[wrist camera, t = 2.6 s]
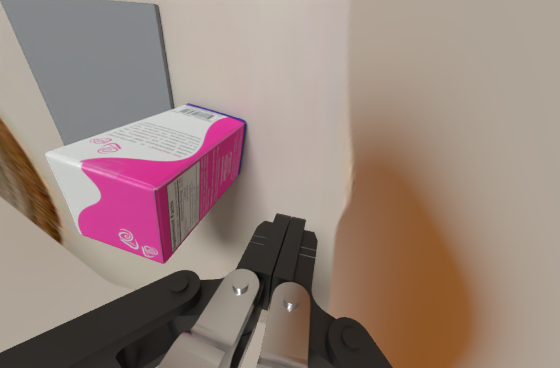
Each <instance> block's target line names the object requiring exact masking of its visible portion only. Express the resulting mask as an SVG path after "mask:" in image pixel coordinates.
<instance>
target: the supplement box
mask: <svg viewBox="0 0 560 368" xmlns="http://www.w3.org/2000/svg"><path fill="white" fill-rule="evenodd" d="M245 127H246V121H245V120H242V119H239V118H236V117H232V116H229V115H226V114H223V113H219V112H216V111H213V110H209V109H206V108H202V107H199V106H195V105H192V104H189V103H188V104H186V105H183V106H180V107H178V108H175V109H172V110H169V111H166V112H163V113H160V114H157V115H155V116H152V117H148V118H146V119H143V120H140V121H137V122H134V123H131V124H128V125H125V126H122V127H119V128H116V129H113V130H110V131H107V132H105V133H102V134H99V135H96V136H93V137H90V138H87V139H84V140H81V141H78V142H75V143H72V144H69V145H66V146H63V147H61V148H58V149H55V150H52V151H48V152H47V153H46V154H45V155H46V158H47V161H48V163H49V165H50V167H51V169H52V171H53V173H54V176H55V178H56V180H57V182H58V184H59V186H60V188H61V191H62V193H63V195H64V197H65V200H66V202H67V204H68V207H69V209H70V211H71V214H72V217H73V219H74V221H75V224H76V226H77V229H78V231H79V233H80V234H81V235H84V236H87V237H90V238H92V239H95V240H98V241H101V242H104V243H106V244H109V245H112V246H115V247H117V248H120V249H123V250H126V251H129V252H132V253H134V254H137V255H140V256H143V257H145V258H148V259H151V260H154V261H156V262H159V263H162V264H164V263H166V261H167V260H168V259H169V258H170V257H171V256H172V254H173V253H174V252H175V251H176V250H177V248H178V247H179V246H180V245H181V244H182V242H183V241H184V240H185V239H186V238H187V236H188V235H189V234H190V233H191V232H192V230H193V229H194V228H195V227H196V226H197V224H198V223H199V222H200V221H201V219H202V218H203V217H204V216H205V215H206V213H207V212H208V211H209V210H210V209H211V207H212V206H213V205H214V204H215V203H216V201H217V200H218V199H219V198H220V197H221V195H222V194H223V193H224V192H225V191H226V189H227V188H228V187H229V186H230V185H231V183H232V182H233V181H234V180H235V179H236V177H237V176H238V175H239V171H240V164H241V157H242V149H243V142H244V135H245Z"/></svg>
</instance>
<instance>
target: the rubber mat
mask: <svg viewBox="0 0 560 368" xmlns="http://www.w3.org/2000/svg"><path fill="white" fill-rule="evenodd" d="M0 1H1V3H2V5H3V8H4V10H5V12H6V15H7V17H8V19H9V21H10V24H11V26H12V28H13V30H14V33H15V35H16V37H17V39H18V42H19V44H20V46H21V48H22V51H23V53H24V55H25V57H26V60H27V62H28V64H29V66H30V69H31V71H32V73H33V75H34V78H35V80H36V82H37V84H38V87H39V89H40V91H41V93H42V96H43V98H44V100H45V102H46V105H47V107H48V109H49V111H50V114H51V116H52V118H53V120H54V123H55V125H56V127H57V129H58V132H59V134H60V136H61V139H62V141H63V143H64V145H65V146H66V145H69V144H72V143H75V142H78V141H81V140H84V139H87V138H90V137H93V136H96V135H99V134H102V133H105V132H107V131H110V130H113V129H116V128H119V127H122V126H125V125H128V124H131V123H134V122H137V121H140V120H143V119H146V118H148V117H152V116H155V115H157V114H160V113H163V112H166V111H169V110H172V109H174V106H173V100H172V93H171V87H170V80H169V74H168V67H167V61H166V55H165V48H164V42H163V35H162V29H161V22H160V16H159V9H158V5H156V4H149V3H136V2H123V1H111V0H0Z"/></svg>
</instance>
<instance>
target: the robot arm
mask: <svg viewBox="0 0 560 368" xmlns="http://www.w3.org/2000/svg"><path fill="white" fill-rule="evenodd" d="M305 222H306V220H305V219H301V218H296V217H292V218H291V216H287V215H283V214H278V213H277V214H276V216H275V219H274V221H273V223H272V222H268V221H264V222H263V223H261V224H260V225H259V226H257V228H256V230H255V232H254V235H253V236H252V238H251V240H250V242H249V244H248V246H247V248H246V250H245V252H244V254H243V256H242V258H241V260H240V262H239V264H238V266H237V268H236V269H235V270H234V271H232V272H230V273H229V274H228V275H226V277H224V278H221V279H214V280H200V279H199V276H198V275H197V274H196V273H195V272H193V271H189V270H181V271H177V272H175V273H172V274H170V275H168V276H166V277H164V278H162V279H159V280H157V281H155V282H153V283H151V284H149V285H146V286H144V287H142V288H140V289H138V290H136V291H134V292H131V293H129V294H127V295H125V296H123V297H120V298H118V299H116V300H114V301H112V302H110V303H107V304H105V305H103V306H101V307H99V308H97V309H94V310H92V311H90V312H88V313H86V314H83V315H81V316H79V317H77V318H75V319H73V320H70V321H68V322H66V323H64V324H62V325H60V326H57V327H55V328H53V329H51V330H49V331H47V332H44V333H42V334H40V335H38V336H36V337H34V338H31V339H29V340H27V341H25V342H23V343H20V344H18V345H16V346H14V347H12V348H10V349H7V350H5V351H3V352H1V353H0V368H155V367H157V366H158V365H159V366H158V367H157V368H240V367H241V364H242V362H243V359H244V356H245V354H246V352H247V349H248V346H249V344H250V342H251V339H252V337H253V334H254V332H255V329H256V325H257V322H258V320H259V316H260V313H261V310H262V309H264V310H268V307H269V314H268V319H267V324H266V328H265V333H264V338H263V343H262V347H261V352H260V356H259V359H258V362H257V366H256V368H392V366H391V365H390V363H389V362H388V360H387V359H386V357H385V356H384V355H383V353H382V352H381V350H380V349H379V347H378V346H377V345H376V343H375V342H374V340H373V339H372V338H371V336H370V335H369V333H368V332H367V330H366V329H365V328H364V327H363V326H362V325H361V324H360V323H359V322H357V321H355V320H353V319H351V318H347V317H342V318H338V319H335V318H334V317H332V316H331V315H329V314H328V313H326V312H325V311H323V310H322V309H321V308H320V307H319V306H318V305H317V304H316V302H315V300H314V298H313V296H312V291H311V287H312V279H313V272H314V264H315V257H316V249H317V242H318V241H317V238H316V235H315V233H314V232H311V231H306V230H304V227H305ZM269 304H270V306H269Z"/></svg>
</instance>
